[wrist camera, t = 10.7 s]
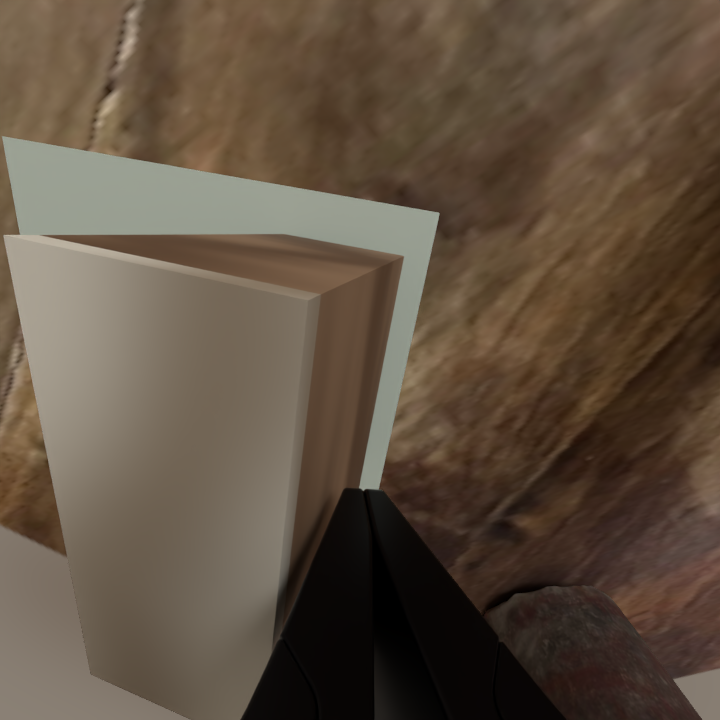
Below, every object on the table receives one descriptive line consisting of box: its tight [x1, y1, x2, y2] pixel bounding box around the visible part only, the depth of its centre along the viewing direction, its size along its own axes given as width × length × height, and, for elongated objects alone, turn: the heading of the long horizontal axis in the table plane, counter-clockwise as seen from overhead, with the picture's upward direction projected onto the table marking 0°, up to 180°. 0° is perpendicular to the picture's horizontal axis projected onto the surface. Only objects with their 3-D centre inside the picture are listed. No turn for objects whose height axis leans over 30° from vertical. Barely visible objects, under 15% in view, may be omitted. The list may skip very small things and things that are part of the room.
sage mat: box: [2, 136, 440, 491], centre depth 13 cm, size 13×12×1 cm
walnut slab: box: [3, 234, 404, 720], centre depth 9 cm, size 4×9×8 cm, turn 170°
